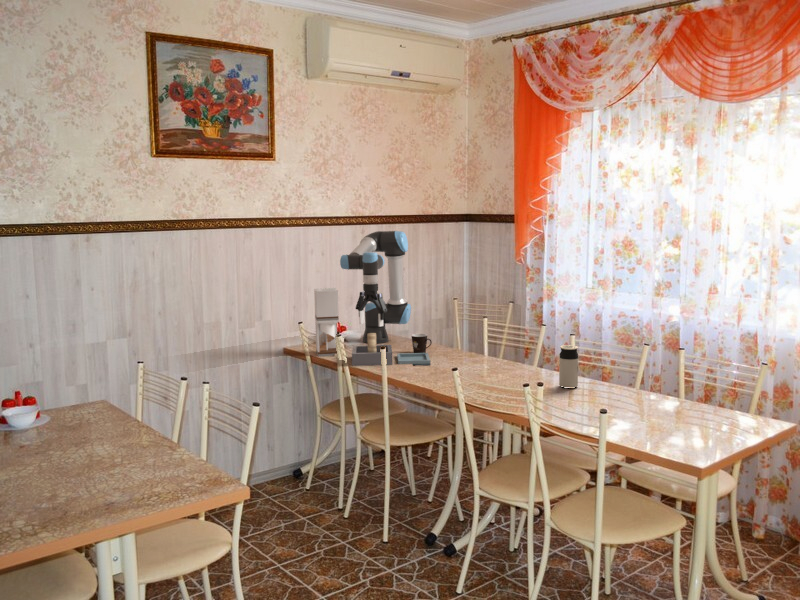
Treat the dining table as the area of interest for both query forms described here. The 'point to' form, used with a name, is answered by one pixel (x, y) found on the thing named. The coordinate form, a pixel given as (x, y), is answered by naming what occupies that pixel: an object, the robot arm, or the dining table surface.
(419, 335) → the coffee mug
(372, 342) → the dowel pin
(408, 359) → the tray
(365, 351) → the grey open bin
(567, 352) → the travel mug
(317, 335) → the white coffee grinder
